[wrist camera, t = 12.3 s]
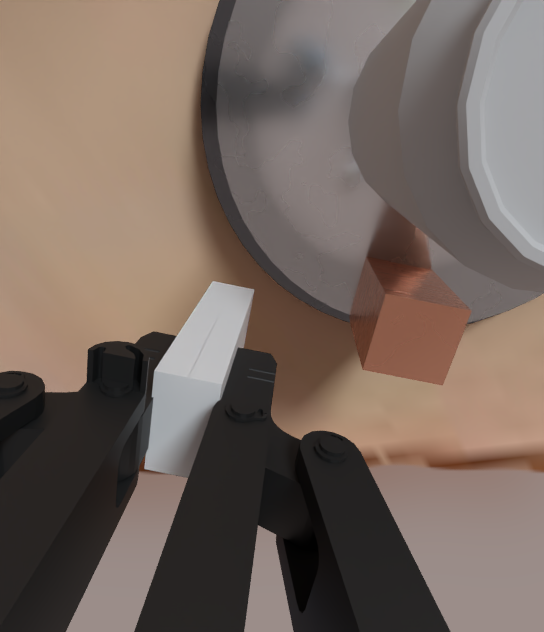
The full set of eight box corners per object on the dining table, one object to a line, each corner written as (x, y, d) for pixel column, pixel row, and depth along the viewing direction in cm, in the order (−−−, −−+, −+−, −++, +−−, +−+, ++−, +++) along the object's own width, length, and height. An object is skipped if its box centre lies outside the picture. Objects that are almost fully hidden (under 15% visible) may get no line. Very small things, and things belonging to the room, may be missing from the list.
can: (344, 217, 19) (405, 331, 8) (347, 11, 16) (444, -239, 5) (525, 211, 19) (851, 323, 8) (560, -3, 16) (1155, -315, 5)
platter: (198, 276, 22) (160, 330, 16) (262, -216, 15) (238, -438, 9) (550, 346, 23) (640, 424, 17) (766, -106, 16) (1055, -253, 10)
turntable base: (183, 282, 24) (177, 289, 23) (243, -230, 16) (239, -256, 15) (545, 354, 24) (557, 364, 23) (770, -114, 17) (803, -132, 16)
